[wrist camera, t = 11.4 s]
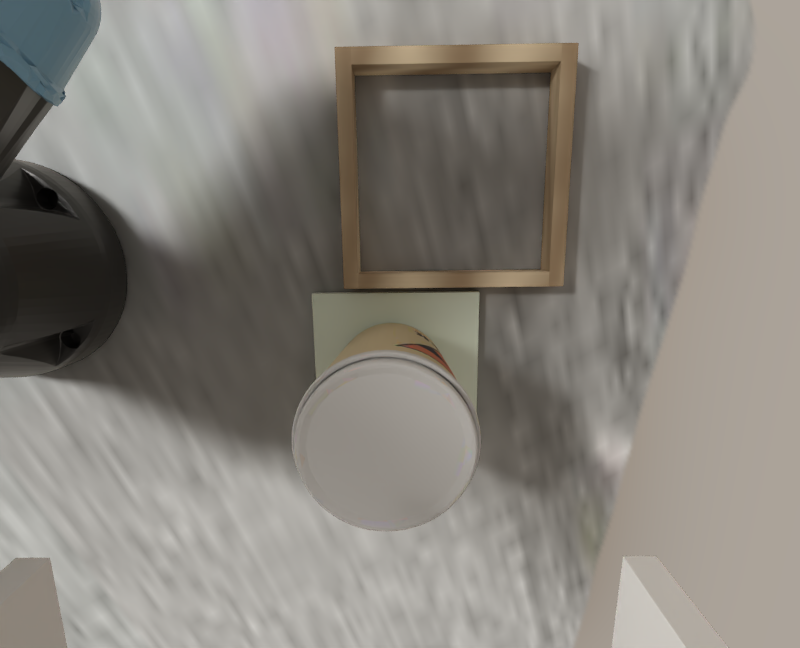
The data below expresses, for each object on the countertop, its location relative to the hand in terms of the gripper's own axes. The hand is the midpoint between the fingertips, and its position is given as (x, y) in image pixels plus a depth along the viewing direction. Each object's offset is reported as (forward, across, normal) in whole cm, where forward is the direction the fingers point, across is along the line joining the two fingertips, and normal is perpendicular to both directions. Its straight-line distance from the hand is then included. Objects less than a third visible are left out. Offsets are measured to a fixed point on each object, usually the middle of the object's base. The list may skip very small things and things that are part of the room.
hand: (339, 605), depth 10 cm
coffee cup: (+23, +1, -2) cm, 23 cm away
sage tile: (+23, +1, -2) cm, 24 cm away
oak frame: (+24, +5, +12) cm, 27 cm away
